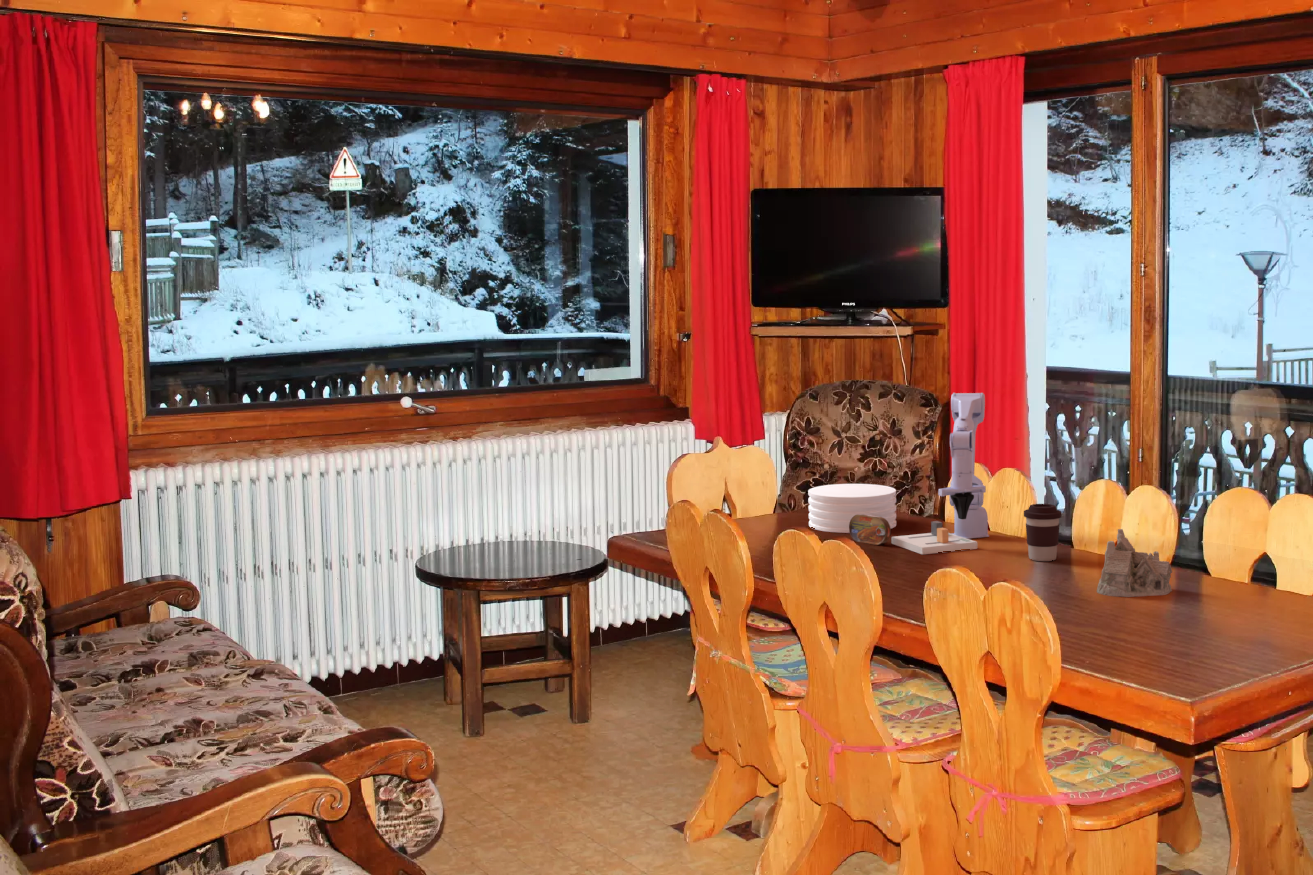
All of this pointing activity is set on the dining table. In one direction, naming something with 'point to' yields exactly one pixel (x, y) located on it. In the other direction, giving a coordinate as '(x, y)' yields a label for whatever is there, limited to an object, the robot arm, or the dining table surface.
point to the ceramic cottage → (1133, 571)
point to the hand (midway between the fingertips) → (962, 518)
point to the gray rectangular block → (935, 527)
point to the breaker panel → (932, 543)
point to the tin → (869, 529)
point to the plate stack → (849, 505)
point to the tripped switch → (942, 535)
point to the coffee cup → (1042, 531)
